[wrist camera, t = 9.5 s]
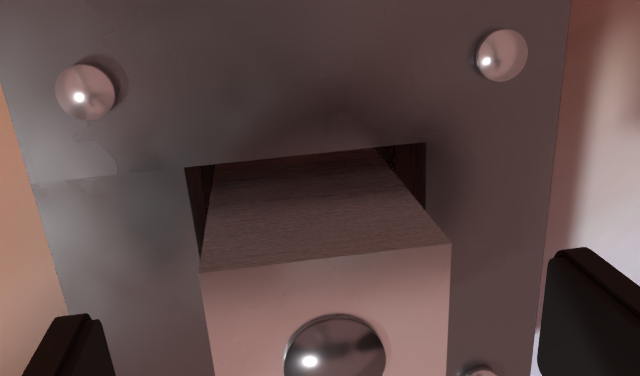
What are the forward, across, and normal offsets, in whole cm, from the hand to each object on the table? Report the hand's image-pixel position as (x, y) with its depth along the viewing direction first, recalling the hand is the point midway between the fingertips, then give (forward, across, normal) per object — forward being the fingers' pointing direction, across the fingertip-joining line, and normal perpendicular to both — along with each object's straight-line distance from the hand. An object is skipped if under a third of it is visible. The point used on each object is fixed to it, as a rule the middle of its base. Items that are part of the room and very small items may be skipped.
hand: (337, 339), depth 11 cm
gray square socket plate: (+6, 0, 0) cm, 6 cm away
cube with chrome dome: (+6, 0, 0) cm, 6 cm away
